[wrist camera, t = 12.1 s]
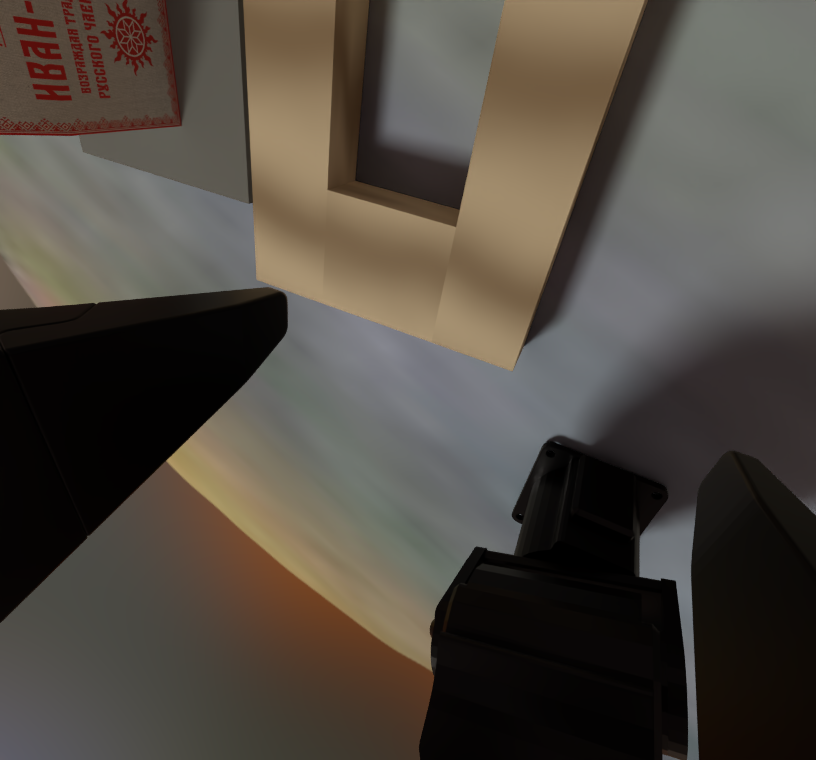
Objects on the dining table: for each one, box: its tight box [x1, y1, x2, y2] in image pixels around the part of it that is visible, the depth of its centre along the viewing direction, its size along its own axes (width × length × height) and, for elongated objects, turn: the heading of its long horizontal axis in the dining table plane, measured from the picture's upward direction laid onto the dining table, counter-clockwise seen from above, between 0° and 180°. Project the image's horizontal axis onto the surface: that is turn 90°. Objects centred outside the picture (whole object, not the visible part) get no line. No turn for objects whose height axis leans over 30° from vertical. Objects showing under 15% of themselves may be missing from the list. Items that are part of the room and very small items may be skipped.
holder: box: [243, 0, 648, 371], centre depth 17 cm, size 20×14×2 cm
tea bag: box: [0, 0, 181, 136], centre depth 18 cm, size 4×7×10 cm, turn 171°
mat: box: [79, 0, 253, 204], centre depth 22 cm, size 14×12×1 cm
